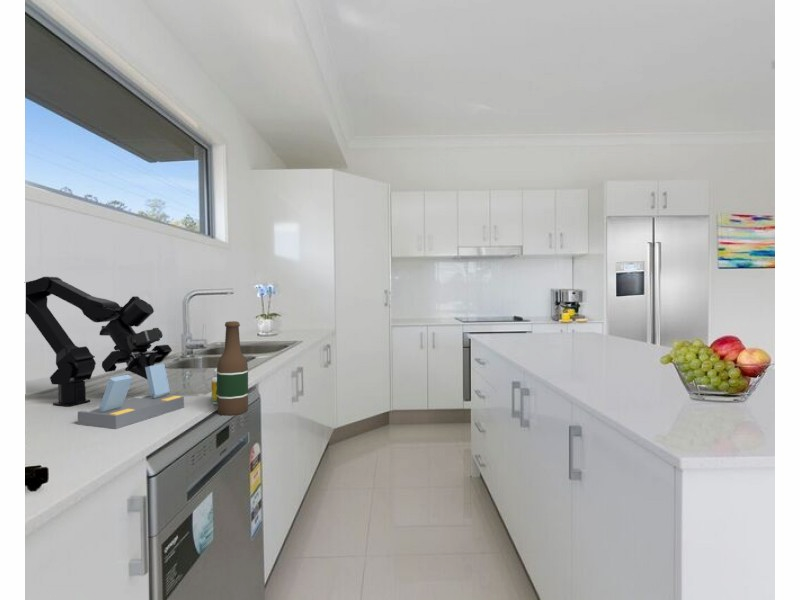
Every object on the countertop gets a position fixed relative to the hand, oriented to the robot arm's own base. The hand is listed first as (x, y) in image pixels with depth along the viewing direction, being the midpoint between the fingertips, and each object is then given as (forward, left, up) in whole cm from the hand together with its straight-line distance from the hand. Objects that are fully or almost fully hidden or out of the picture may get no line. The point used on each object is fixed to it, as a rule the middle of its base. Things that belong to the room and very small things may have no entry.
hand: (155, 380), depth 127 cm
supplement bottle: (+13, +11, -8) cm, 19 cm away
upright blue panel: (+2, -15, -4) cm, 16 cm away
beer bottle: (+23, +3, -8) cm, 24 cm away
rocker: (+2, 0, -4) cm, 4 cm away
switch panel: (+1, -8, -8) cm, 11 cm away
